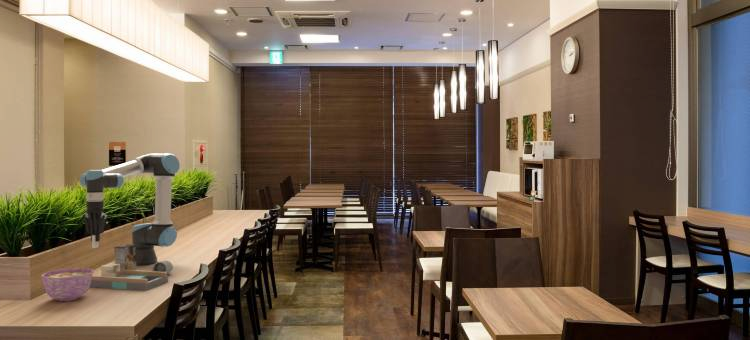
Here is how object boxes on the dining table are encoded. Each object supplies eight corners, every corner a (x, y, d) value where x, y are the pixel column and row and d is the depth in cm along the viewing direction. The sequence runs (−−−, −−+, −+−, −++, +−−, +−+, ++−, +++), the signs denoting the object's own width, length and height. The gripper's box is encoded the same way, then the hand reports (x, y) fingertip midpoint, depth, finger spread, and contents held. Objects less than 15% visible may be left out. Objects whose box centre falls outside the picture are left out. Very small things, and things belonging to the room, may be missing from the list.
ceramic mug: (173, 273, 283) (173, 259, 283) (166, 276, 275) (166, 262, 275) (155, 273, 284) (154, 259, 284) (147, 276, 276) (146, 262, 276)
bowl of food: (60, 292, 244) (60, 267, 243) (102, 293, 243) (102, 268, 243) (30, 304, 224) (30, 277, 223) (77, 305, 223) (76, 278, 223)
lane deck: (113, 278, 272) (112, 268, 272) (168, 281, 265) (167, 271, 265) (86, 286, 255) (86, 276, 254) (145, 290, 248) (144, 280, 247)
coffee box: (126, 273, 282) (126, 243, 282) (136, 274, 281) (136, 244, 281) (114, 277, 273) (114, 246, 273) (125, 278, 272) (125, 247, 272)
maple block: (109, 275, 265) (109, 263, 265) (120, 275, 264) (119, 264, 264) (101, 277, 260) (101, 265, 259) (111, 278, 258) (111, 266, 258)
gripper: (78, 201, 260) (78, 248, 261) (100, 201, 258) (101, 249, 258) (89, 199, 268) (89, 246, 268) (111, 200, 265) (111, 247, 265)
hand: (95, 247), depth 263 cm, fingers closed
